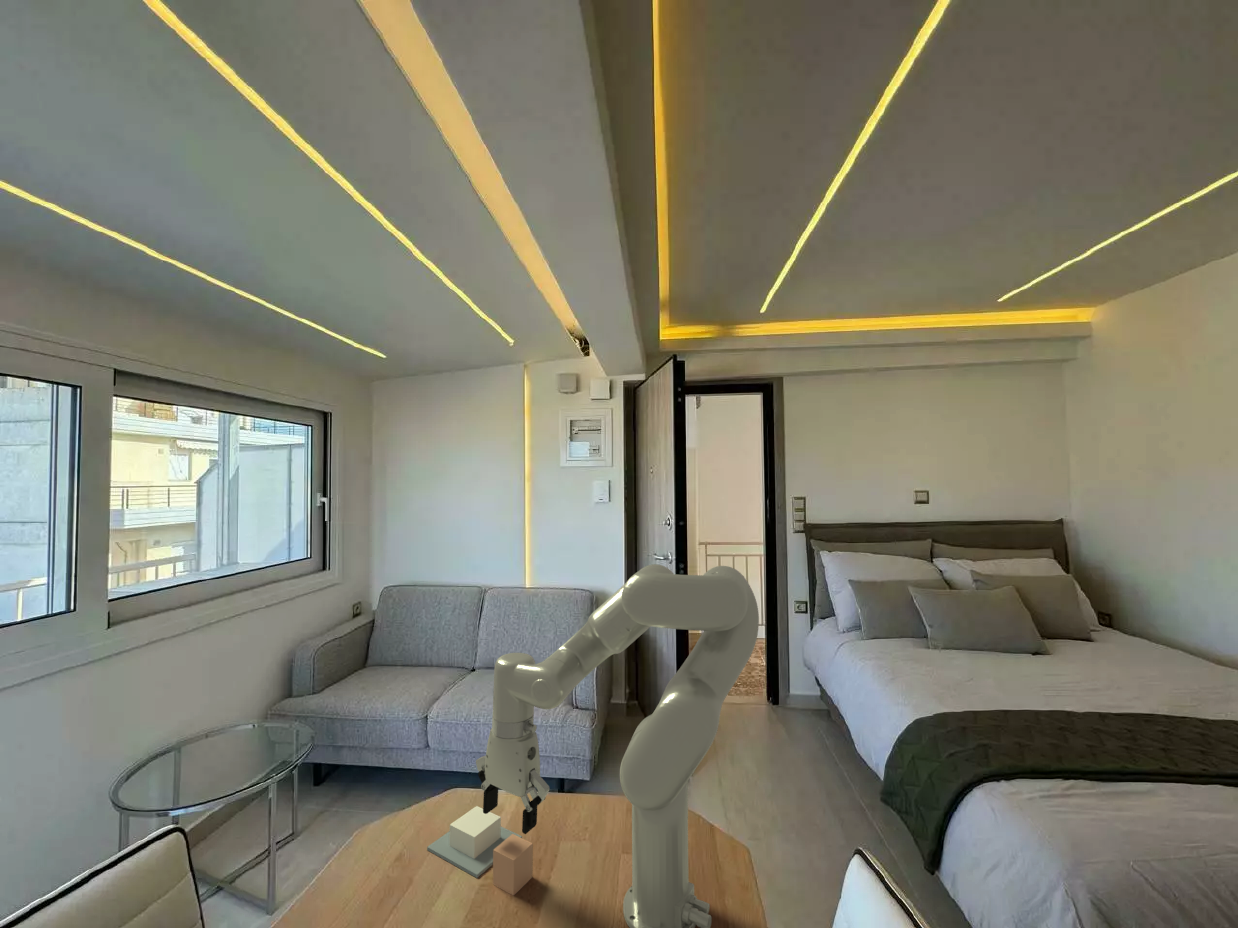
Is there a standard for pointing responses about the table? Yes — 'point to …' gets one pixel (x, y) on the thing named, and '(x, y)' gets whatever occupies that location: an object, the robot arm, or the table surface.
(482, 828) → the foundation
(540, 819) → the table surface
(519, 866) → the terracotta block
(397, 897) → the table surface
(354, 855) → the table surface
